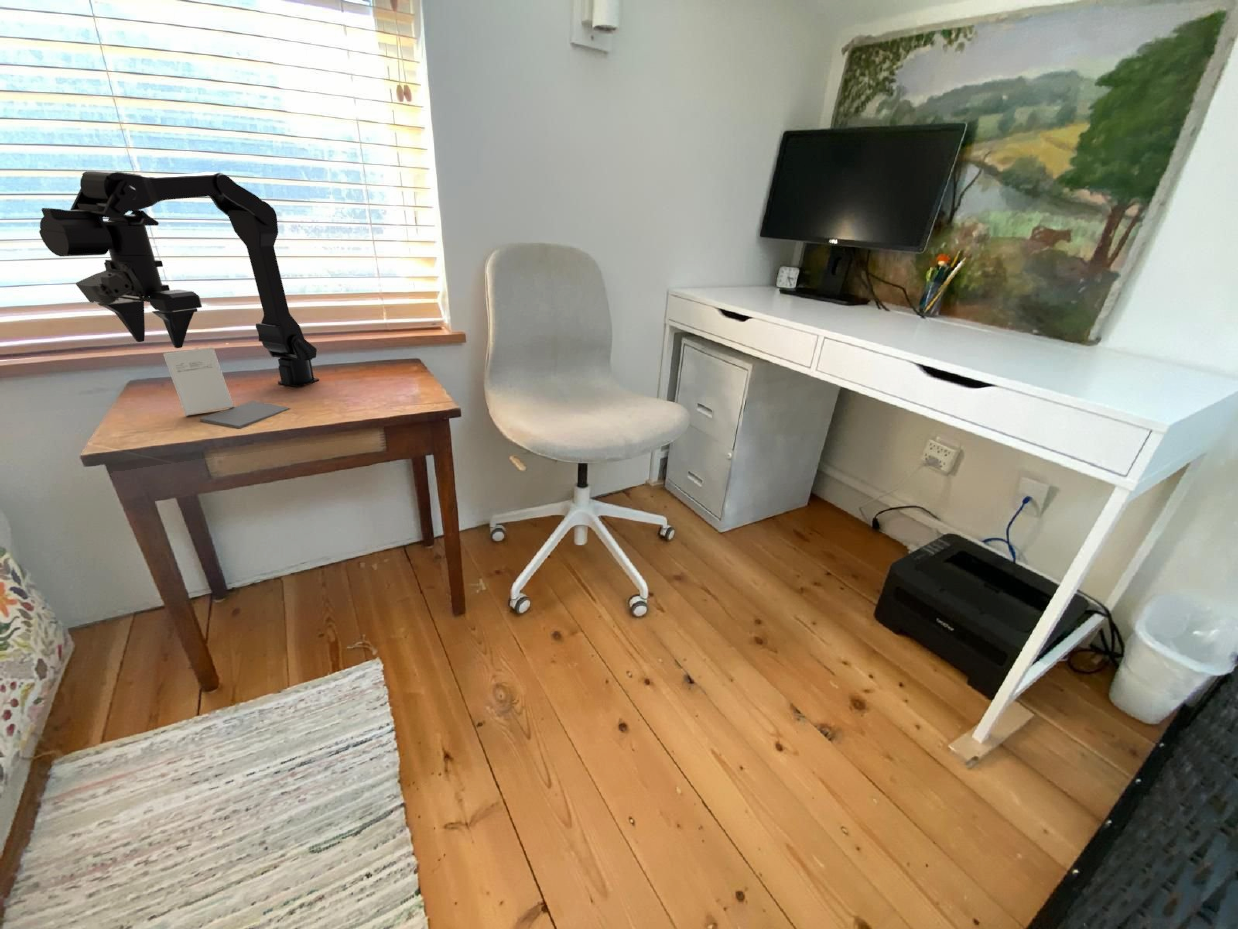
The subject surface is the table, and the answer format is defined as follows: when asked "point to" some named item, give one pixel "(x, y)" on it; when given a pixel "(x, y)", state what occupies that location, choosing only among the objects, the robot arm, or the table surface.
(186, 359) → the external hard drive
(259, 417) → the desk mat
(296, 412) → the table surface
